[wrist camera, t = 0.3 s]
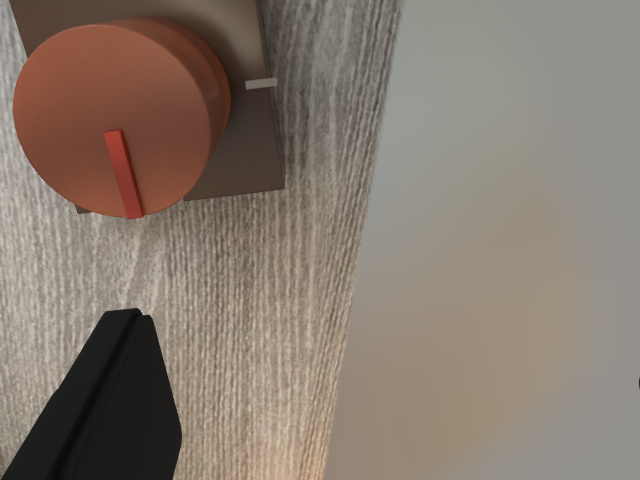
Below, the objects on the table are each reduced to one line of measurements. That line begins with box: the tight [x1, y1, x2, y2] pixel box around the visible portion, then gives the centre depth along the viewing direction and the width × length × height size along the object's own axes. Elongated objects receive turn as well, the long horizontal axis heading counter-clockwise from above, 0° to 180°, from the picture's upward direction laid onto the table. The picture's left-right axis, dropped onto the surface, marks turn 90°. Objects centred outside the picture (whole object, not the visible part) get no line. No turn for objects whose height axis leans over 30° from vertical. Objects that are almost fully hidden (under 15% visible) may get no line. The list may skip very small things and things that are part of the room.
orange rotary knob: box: [13, 15, 231, 219], centre depth 21 cm, size 7×7×6 cm
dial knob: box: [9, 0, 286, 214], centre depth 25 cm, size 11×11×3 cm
